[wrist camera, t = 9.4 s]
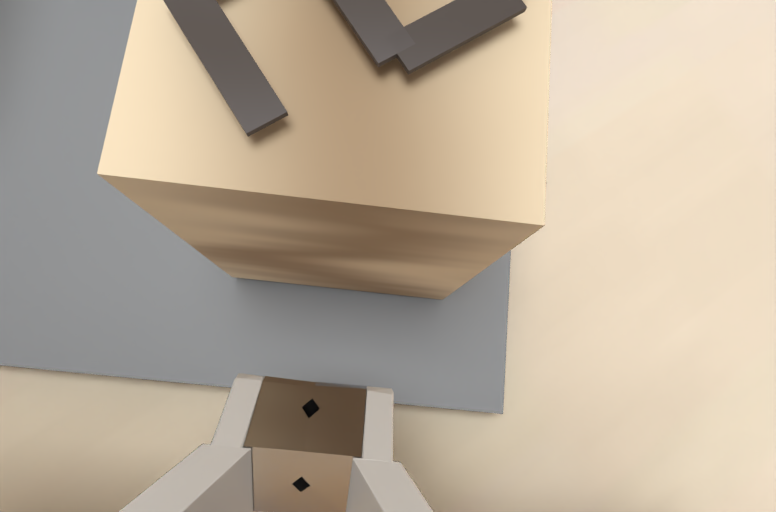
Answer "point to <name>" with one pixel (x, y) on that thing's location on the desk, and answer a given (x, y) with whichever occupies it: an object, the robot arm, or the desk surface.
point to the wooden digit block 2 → (337, 135)
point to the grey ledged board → (185, 257)
